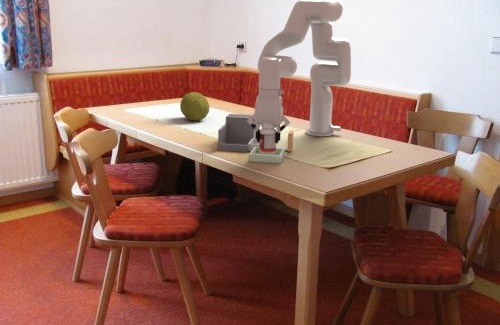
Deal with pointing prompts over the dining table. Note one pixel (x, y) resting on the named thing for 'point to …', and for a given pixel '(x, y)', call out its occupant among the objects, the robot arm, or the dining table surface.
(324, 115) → the robot arm
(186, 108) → the fruit
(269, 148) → the pill bottle
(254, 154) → the tray
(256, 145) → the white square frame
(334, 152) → the dining table surface
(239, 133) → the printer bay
